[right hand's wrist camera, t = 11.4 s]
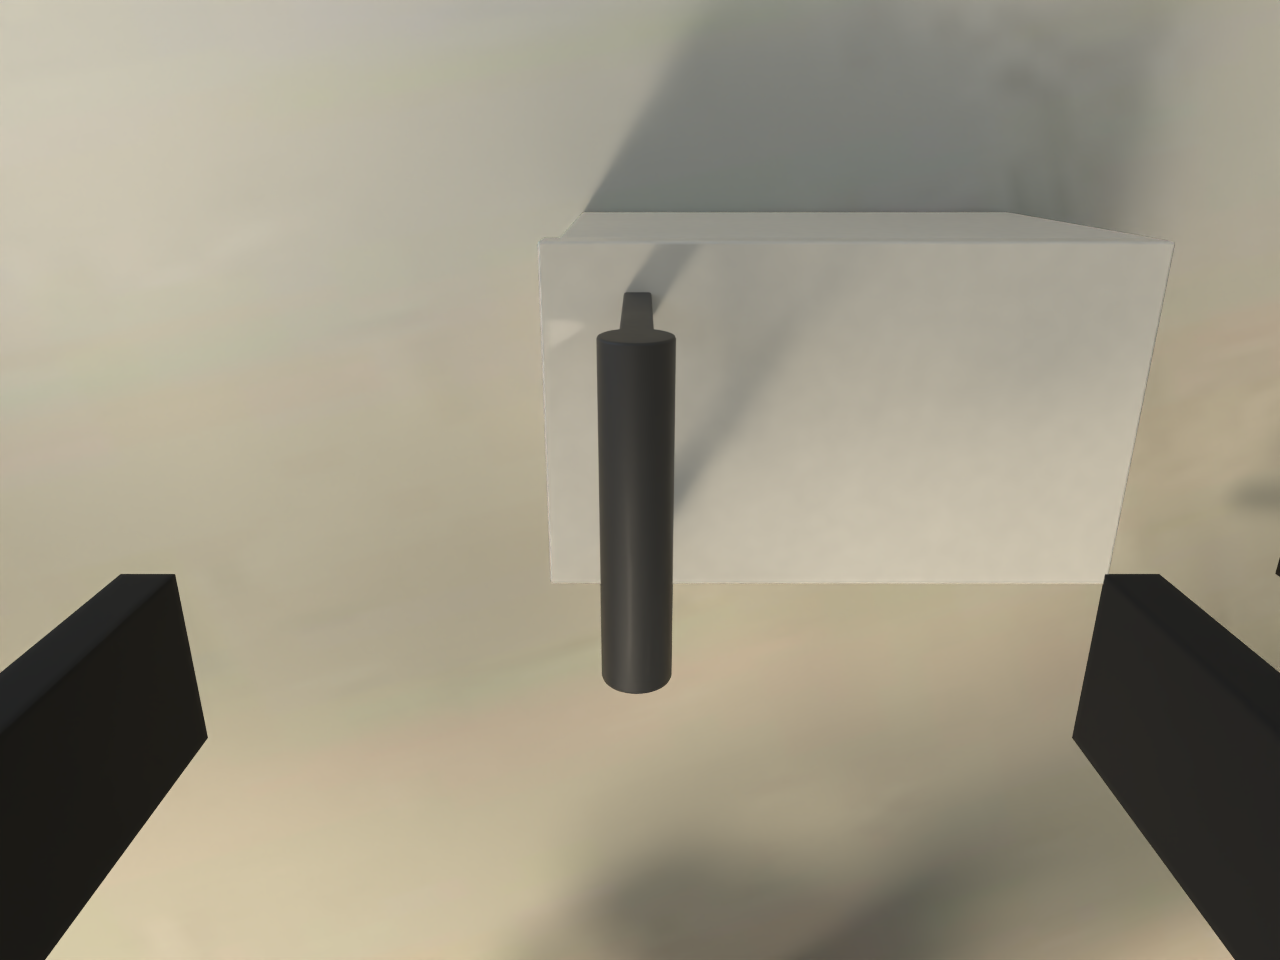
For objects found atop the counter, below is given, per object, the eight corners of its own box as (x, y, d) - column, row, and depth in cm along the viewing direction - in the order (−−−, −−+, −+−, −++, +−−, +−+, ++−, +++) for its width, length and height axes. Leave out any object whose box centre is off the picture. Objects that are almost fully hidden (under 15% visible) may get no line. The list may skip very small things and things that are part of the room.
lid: (554, 567, 26) (518, 739, 19) (541, 236, 23) (492, 281, 16) (1089, 567, 26) (1272, 739, 19) (1153, 236, 23) (1407, 281, 15)
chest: (587, 459, 36) (569, 566, 27) (582, 212, 32) (559, 236, 23) (973, 459, 36) (1088, 567, 27) (1007, 212, 32) (1151, 237, 23)
